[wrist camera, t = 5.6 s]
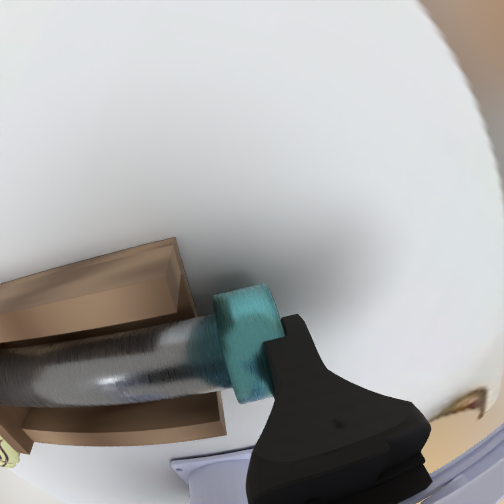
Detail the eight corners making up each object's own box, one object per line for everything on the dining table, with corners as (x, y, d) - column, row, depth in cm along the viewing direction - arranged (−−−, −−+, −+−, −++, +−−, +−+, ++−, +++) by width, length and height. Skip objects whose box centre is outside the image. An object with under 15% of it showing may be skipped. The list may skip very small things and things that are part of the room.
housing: (174, 237, 12) (161, 293, 7) (218, 376, 15) (229, 452, 10) (-23, 291, 11) (-70, 337, 6) (39, 396, 14) (16, 452, 9)
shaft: (257, 265, 12) (285, 323, 8) (272, 346, 14) (297, 412, 10) (-3, 321, 11) (-42, 369, 7) (33, 382, 13) (9, 434, 8)
